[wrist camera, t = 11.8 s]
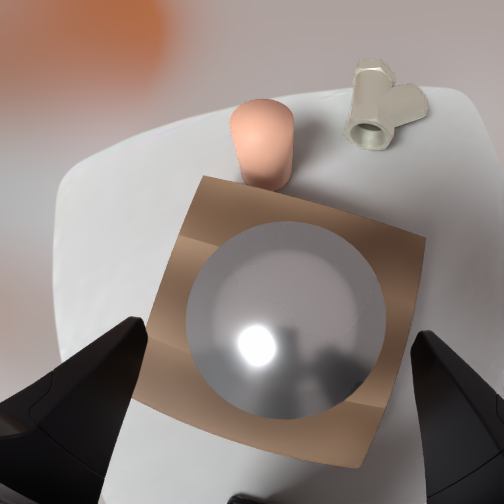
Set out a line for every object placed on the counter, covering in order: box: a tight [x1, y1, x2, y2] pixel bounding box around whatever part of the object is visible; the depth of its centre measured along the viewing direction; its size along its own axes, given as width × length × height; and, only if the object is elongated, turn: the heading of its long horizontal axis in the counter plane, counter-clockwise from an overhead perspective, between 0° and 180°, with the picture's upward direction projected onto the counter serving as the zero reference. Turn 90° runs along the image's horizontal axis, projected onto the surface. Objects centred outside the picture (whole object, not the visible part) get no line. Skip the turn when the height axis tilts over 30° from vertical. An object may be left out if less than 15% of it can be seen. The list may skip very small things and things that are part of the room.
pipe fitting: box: [343, 59, 428, 150], centre depth 19 cm, size 8×4×7 cm
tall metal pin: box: [186, 221, 386, 420], centre depth 11 cm, size 4×4×13 cm
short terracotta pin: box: [230, 99, 294, 191], centre depth 18 cm, size 4×4×6 cm
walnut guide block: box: [132, 175, 426, 469], centre depth 15 cm, size 13×13×4 cm
